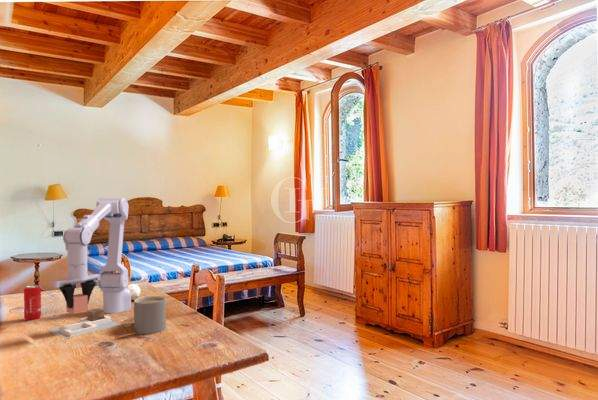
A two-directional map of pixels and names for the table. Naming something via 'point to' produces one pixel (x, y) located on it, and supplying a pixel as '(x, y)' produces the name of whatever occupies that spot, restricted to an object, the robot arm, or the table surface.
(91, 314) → the walnut cube
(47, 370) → the table surface
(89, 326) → the board
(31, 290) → the beverage can
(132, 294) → the ornament
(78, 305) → the brick-red block
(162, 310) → the coffee mug
